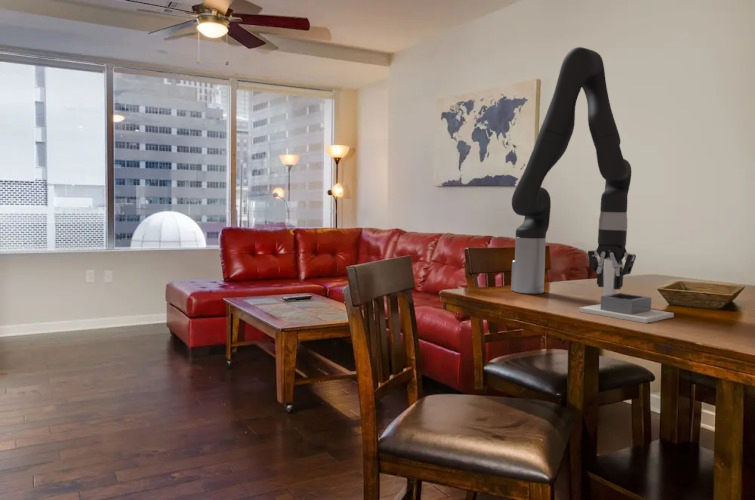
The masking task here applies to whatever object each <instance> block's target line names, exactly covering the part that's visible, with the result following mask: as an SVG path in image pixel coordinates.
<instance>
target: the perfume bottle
mask: <svg viewBox="0 0 755 500" xmlns="http://www.w3.org/2000/svg"><path fill="white" fill-rule="evenodd" d="M617 264H618V265H619V264H620V263H617ZM615 276H616V273H615V268H613V264H612V260H611V258H606V259H605V260H604V263H603V287H602V288H603V296H605V295H612V294H617V289H615V288H614V287H615Z"/></svg>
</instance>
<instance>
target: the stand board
mask: <svg viewBox="0 0 755 500" xmlns="http://www.w3.org/2000/svg"><path fill="white" fill-rule="evenodd" d="M600 309H601V303H598V304H593V305H587V306H579V307H578V312H581V313H585V314H591V315H595V316H603V317H609V318H613V319H621V320H626V321H631V322H636V323H643V324H648V322H649V323H652V322H656V321H661V320H665V319H666V320H667V319H671V318H675V317H674V315H675V313H674V312H670V311H663V310H657V309H652V308H651V311H648V312H643V313H638V314H633V315H630V314H624V313H618V312H612V311H606V310H600Z"/></svg>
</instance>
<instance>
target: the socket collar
mask: <svg viewBox="0 0 755 500" xmlns="http://www.w3.org/2000/svg"><path fill="white" fill-rule="evenodd" d="M600 304H601V309H600V310H606V311H612V312H618V313H624V314H630V315H633V314H638V313H643V312H648V311H651V309H652V297H650V296H645V295H643V296H642V295H637V294H629V293H623V292H619V293H616V294H612V295H605V296H604V295H601V296H600Z"/></svg>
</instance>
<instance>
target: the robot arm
mask: <svg viewBox="0 0 755 500" xmlns="http://www.w3.org/2000/svg"><path fill="white" fill-rule="evenodd" d="M557 77H558V78H557V81H556V84H555V88H554V93H553V95H552V97H551V100H550V103H549V106H548V108H547V111H546V115H545V117H544V119H543V121H542V124H541V127H540V129H539V132H538V135H537V137H536V141H535V144H534V146H533V149H532V151H531V154H530V157H529V159H528V161H527V163H526V167H525V168H524V171H523V173H522V175H521V177H520V179H519V181H518V183H517V185H516V187H515V189H514V192H513V194H512V197H511V207H512V211H513V212H514V214H516V215H519V216H522V217H523V216H524V219H523V222H522V224H521V225H520V226H518V227H516V229H515V245H514V260H512V262H511V280H510V281H511V283H510V290H511V291H513V292H515V293H521V294H531V295H532V294H543V293H544V289H545V288H544V287H545V267H546V266H545V265H546V263H545V261H546V240H547V239H546V238H547V237H546V236H547V231H548V230H549V227H550V217H551V208H552V207H551V203H552V202H551V195H550V193H549V192H548V190H547V188H544V187H542V185H543V182H544V180H545V179H546V176H547V175H548V173H549V172H550V171H551V169H552V168H554V166H555V165H556V164H557V163H558V161H559V160H560V159H561V158H562V157H563V155H565V152H566V151H567V149H568V146H569V143H570V141H571V138H572V136H573V133H574V129H575V125H576V124H575V122H576V121H575V120H576V104H577V101H578V97H579V95H580V92H581V90H583V92H584V95H585V97H586V98H585V99H586V102H587V103H586V104H587V124H588V128H589V132H590V136H591V139H592V142H593V143H592V144H593V145H594V148H595V153H596V162H597V166H598V169H599V173H600V175H601V177H602V178H603V180H605V183H604V184H605V186H604V192H602V194H601V199H600V208H599V209H600V212H599V213H600V214H599V219H598V230H597V231H598V232H597V234H598V235H597V244H598V245H597V248H596V249H595V250H588V251H587V256H588V260H589V266H590V270H591V271H592V272H595V273H596V284H597V287H599V288H603V263H604V260H605V259H606V258H611V260H612V264H613V268H615V273H616V276H615V287H614V288H615V289H616V291H617V290H621V288H622V287H623V285H624V284H623V283H624V276H626V275H631V272H632V269H633V267H634V263H635V261H636V258H637V255H636V254H635V253H630V252H627V250H626V245H627V236H628V196H629V190H630V185H631V181H632V166H631V164H630V162H629V161H628V160H627V159H625V158H624V156H623V153H622V149H621V142H622V141H621V138H620V137H621V135H620V133H619V130H618V127H617V124H616V120H615V118H614V114H613V110H612V107H611V103H610V97H609V93H608V92H609V91H608V87H607V81H606V71H605V64H604V61H603V58H602V56H601V54H600V53H598V52H597V51H595V50H592V49H589V48H585V47H581V46H578V47H575V48H572V49H571V50H569V52H567V53H566V55H565V57H564V58H563V60H562V63H561V67H560V70H559V74H558V76H557ZM598 256H599V259H598ZM623 260H625V262H623ZM617 263H620V264H619V265H618V264H617Z"/></svg>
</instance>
